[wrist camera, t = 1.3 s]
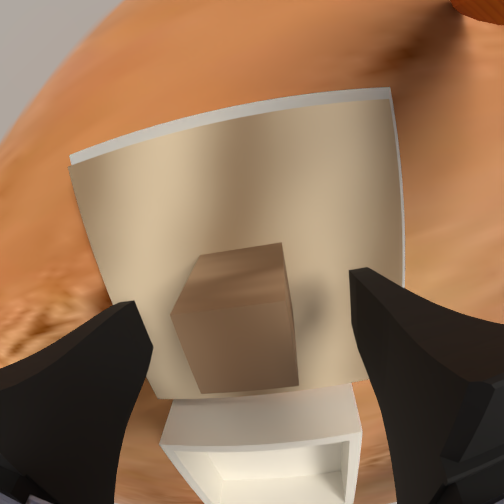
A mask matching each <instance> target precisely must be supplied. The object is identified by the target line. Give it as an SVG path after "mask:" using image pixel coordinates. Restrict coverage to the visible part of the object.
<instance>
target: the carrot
mask: <svg viewBox="0 0 504 504" xmlns="http://www.w3.org/2000/svg"><path fill="white" fill-rule="evenodd" d="M450 1H451V3H452V6H453V8H455V9H456V10H457V11H458V12H459V13H461V14H462V15H465V16H468V17H471V18H473V19H476V20H478V21H483V22H488V23H493V24H497V25H504V0H450Z"/></svg>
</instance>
